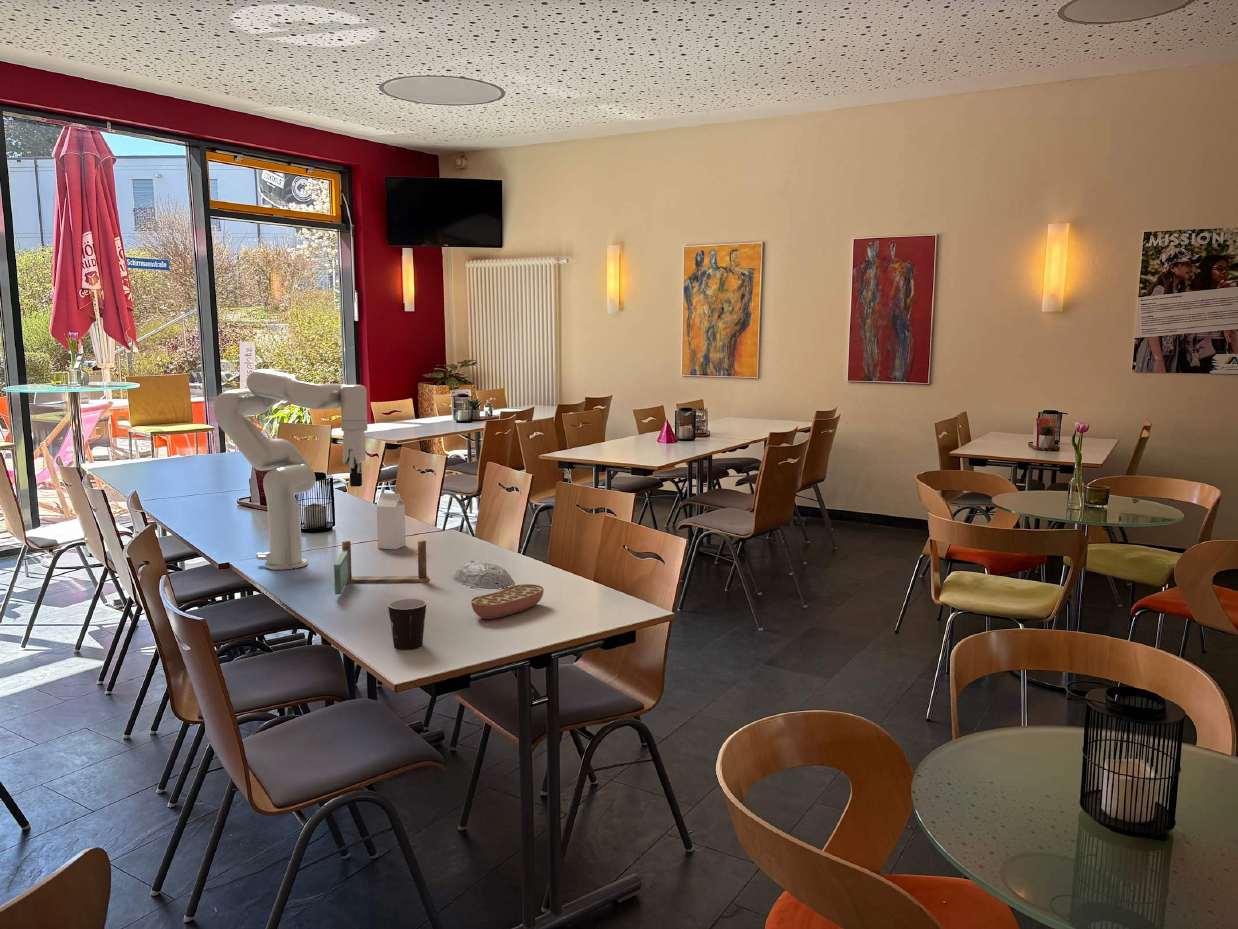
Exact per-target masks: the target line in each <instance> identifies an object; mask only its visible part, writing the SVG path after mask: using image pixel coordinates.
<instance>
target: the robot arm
mask: <svg viewBox="0 0 1238 929" xmlns="http://www.w3.org/2000/svg"><path fill="white" fill-rule="evenodd" d="M245 382H246V387H247V388H244V389H241V388H240V389H231V390H226V391H223V392H221V393H220V394H219V395H217V396H216V398H215V401H214V405H213V414H214V418H215V421H216V423H217V424H218V426H219V428H220V429H221V430H222V431H223V433H225V435H226V436H228V438H229V439H230V440H231V441H232V442H233V444H234V445H235V446H236V448H238V450H239V451H240V452H241V454H242V455H243V456H244V457H245V459H246V460H247V461H248V463H249V464H250V466H251V467H253V468H254V469H255V470H257V471H267V472H266V474H264V477H263V479H262V487H263V491H264V494H265V499H266V507H267V521H268V545H269V546H268V548H269V549H268V550H269V551H267V552H257V553H256V559H257V560H258V561H262V560H264V561H266V562H265V563H264V567H265V568H266V569H268V568H269V569H268V570H273V571H281V570H282V571H283V570H286V569H287V570H293V568H295V569H299V567H300V568H302V567H305V566H307V565H308V560H307V559H306V558H303V555H302V554H303V553H302V551H303V550H302V530H301V525H302V524H301V510H300V509H301V508H300V505H299V502H298V500H297V498H296V496H297V495H299V494H303V493H308V492H309V491H311V490H312V489H313V488H314V487H315V485H316V475H315V474H316V473H315V471H314V469H313V468H312V466H311V465H310V464H309V463H308V461H307V460H306V459H305V458H304V456H303V455H302V454H301V452H300V451H299V449H298V448H297V447H296V446H295V445H294V443H292V442H290V441H289V440H287V439H285V438H267V437H266V436H265V435H264V433H263V432H262V431H261V430H260V428H259V427H258V426H257V425H256V424H254V422H252V421H250V420H249V419H248V418H246V416H247V417H249V416H258V415H261V414H264V413H266V412H267V411H268V410H269V409H271V408H273V407H274V406H275V405H276V404H277V403H278V402H280V401H283V402H288V403H290V404H292V405H294V406H297V407H301V408H306V409H312V410H318V411H319V410H329V409H332V410H333V409H340V419H341V421H340V423H341V424H340V426H341V427H340V428H341V432H343V435H342V463H343V465H347V464H349V465H348V468H349V486H350V487H351V488H352V487H361V486H363V473H362V470H363V468H362V467H363V464H362V463H363V462H364V461H366V452H367V451H366V434H365V432H367V431H368V406H367V405H368V404H367V400H368V399H367V388H366V386H365V385H362V384H343V383H319V384H318V383H311V382H305V381H302V379H301V377H299V375H297V374H292V373H288V372H287V371H285V370H283V369H280V368H259V369H255V370H253V371H251V372H250V373H249V374H248V376H247V377H246V381H245ZM287 570H286V571H287Z"/></svg>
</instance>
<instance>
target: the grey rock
mask: <svg viewBox="0 0 1238 929" xmlns="http://www.w3.org/2000/svg"><path fill="white" fill-rule="evenodd" d="M453 579H454V580H453ZM452 580H453V581H455V582H456V581H457V582H456V583H458V582H459V583H458V584H460V583H462V584H463V586H464V585H466V586H468V587H467V588H471V587H473V588H472V589H477V590H480V589H499V588H503V587H508V586H511V585H513V584H514V585H515V581H514V579H513V577H512V576H511V575H510V574H509V572H507V570H506V569H504V567H502V566H499V565H496V564H493V563H489V562H487V561H475V560H473V559H472V560H470V561H469V562H466V563H463V564H462V565H460V566H459V568H457V569H456V572H455V573H454V574H453V575H452ZM462 584H461V585H462ZM514 585H513V586H514ZM466 586H465V587H466ZM511 587H512V586H511ZM508 588H509V587H508ZM499 590H500V589H499Z"/></svg>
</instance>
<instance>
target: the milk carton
mask: <svg viewBox="0 0 1238 929" xmlns="http://www.w3.org/2000/svg"><path fill="white" fill-rule="evenodd" d="M405 505H406V504H405V502H404V500H403V499H402V497H401V493H391V492H390V493H389V492H388V493H387V492H381V493H380V498H379V500H378V502H377V504H376V526H377V528H376V529H377V530H376V531H377V534H376V536H377V549H385V550H399V549H401V548H402V547H404V546H406V544H407V543H406V541H407V540H406V511H405V510H406V508H405V507H406V506H405Z"/></svg>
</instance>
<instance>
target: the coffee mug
mask: <svg viewBox="0 0 1238 929" xmlns="http://www.w3.org/2000/svg"><path fill="white" fill-rule="evenodd" d="M387 608H388V615H389V622H390V627H391V628H390V629H391V635H392V642H393V648H394V649H395V650H398V651H413V650H417V649H419V648H421V647H422V646H423V641H424V640H423V639H424V633H425V632H424V630H425V629H424V628H425V624H426V623H425V622H426V612H427V601H425V600H424V599H420V598H401V599H395V600H393V601H390V602H389V603H387Z"/></svg>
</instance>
